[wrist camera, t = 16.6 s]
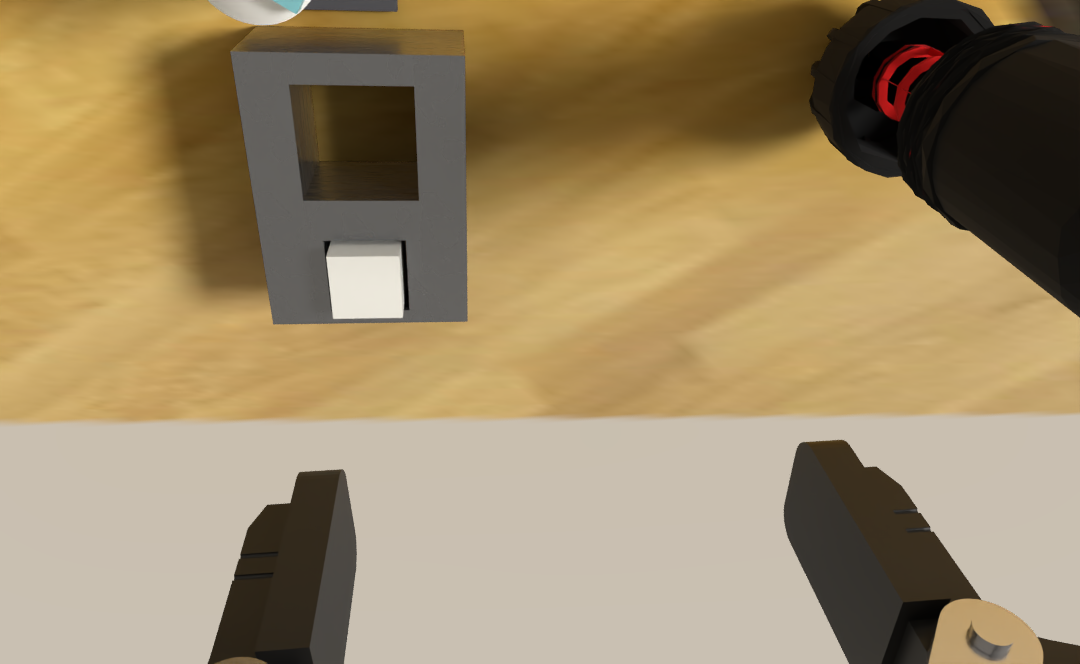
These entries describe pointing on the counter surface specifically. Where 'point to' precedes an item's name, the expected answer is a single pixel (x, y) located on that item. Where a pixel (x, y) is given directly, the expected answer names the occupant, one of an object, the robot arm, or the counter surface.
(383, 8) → the mat
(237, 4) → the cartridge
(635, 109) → the counter surface
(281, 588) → the robot arm
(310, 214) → the housing
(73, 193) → the counter surface
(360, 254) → the off-white cube
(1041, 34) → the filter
